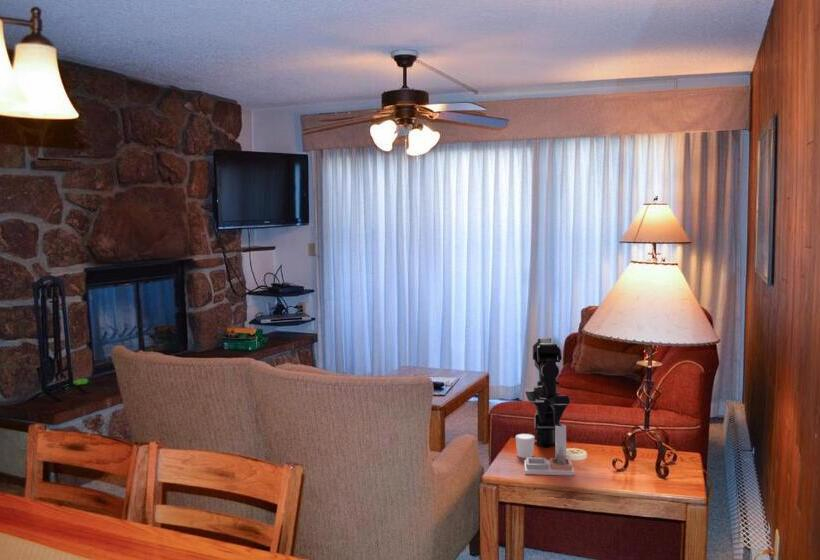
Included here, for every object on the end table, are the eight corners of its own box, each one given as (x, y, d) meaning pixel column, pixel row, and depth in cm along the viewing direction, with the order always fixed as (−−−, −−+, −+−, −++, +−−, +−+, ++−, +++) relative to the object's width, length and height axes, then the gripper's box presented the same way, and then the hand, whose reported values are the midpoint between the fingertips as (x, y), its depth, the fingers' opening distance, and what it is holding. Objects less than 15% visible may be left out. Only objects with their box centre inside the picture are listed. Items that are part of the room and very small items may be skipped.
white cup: (536, 458, 259) (536, 439, 259) (516, 458, 260) (516, 439, 259) (533, 451, 266) (533, 433, 266) (514, 452, 266) (514, 433, 266)
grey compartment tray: (524, 463, 255) (524, 455, 254) (571, 464, 253) (571, 456, 253) (525, 474, 245) (525, 466, 245) (574, 475, 243) (574, 467, 243)
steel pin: (563, 463, 250) (563, 423, 249) (568, 467, 247) (567, 426, 245) (553, 464, 250) (553, 424, 248) (558, 468, 246) (557, 427, 245)
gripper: (515, 377, 266) (515, 421, 264) (542, 379, 248) (542, 426, 247) (542, 377, 270) (542, 420, 268) (570, 379, 252) (571, 425, 251)
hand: (549, 423), depth 258 cm, fingers open, 9 cm apart
